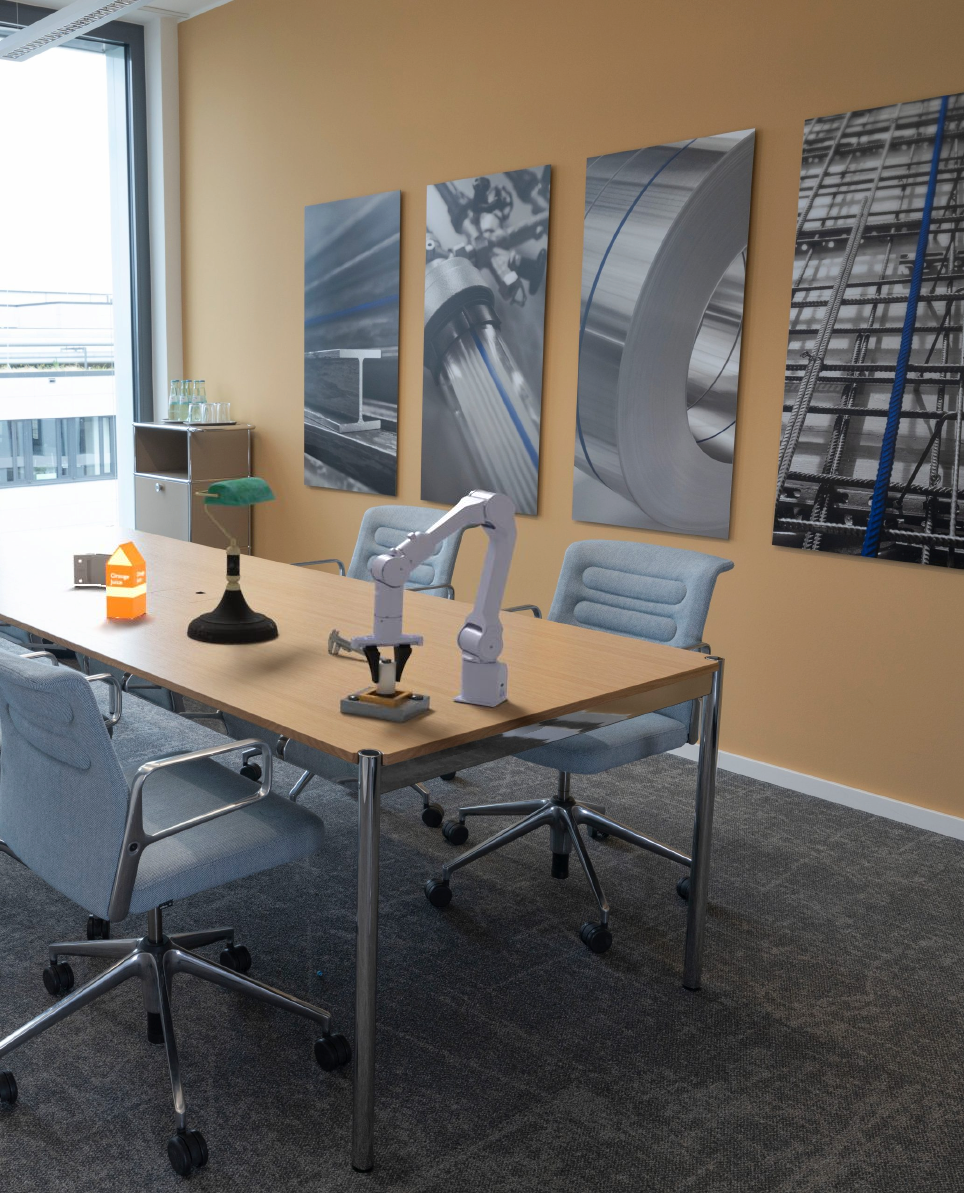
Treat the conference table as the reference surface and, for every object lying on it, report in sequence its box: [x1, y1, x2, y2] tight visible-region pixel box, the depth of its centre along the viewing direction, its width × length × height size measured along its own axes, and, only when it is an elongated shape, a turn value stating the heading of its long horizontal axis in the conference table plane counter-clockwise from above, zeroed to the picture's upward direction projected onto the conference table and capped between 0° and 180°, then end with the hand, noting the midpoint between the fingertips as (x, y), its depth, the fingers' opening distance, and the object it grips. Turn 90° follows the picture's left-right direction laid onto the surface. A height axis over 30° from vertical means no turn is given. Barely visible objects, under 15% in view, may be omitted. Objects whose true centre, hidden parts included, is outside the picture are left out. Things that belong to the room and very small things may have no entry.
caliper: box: [327, 628, 393, 661], centre depth 261 cm, size 20×1×6 cm, turn 57°
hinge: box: [73, 552, 113, 585], centre depth 339 cm, size 14×5×10 cm, turn 94°
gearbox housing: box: [339, 686, 431, 724], centre depth 220 cm, size 14×12×4 cm
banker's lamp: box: [186, 476, 279, 644], centre depth 279 cm, size 26×23×40 cm
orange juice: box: [105, 541, 147, 619], centre depth 297 cm, size 8×9×20 cm
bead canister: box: [375, 657, 397, 694], centre depth 219 cm, size 4×4×7 cm
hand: (386, 681), depth 220 cm, fingers closed on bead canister, 4 cm apart
